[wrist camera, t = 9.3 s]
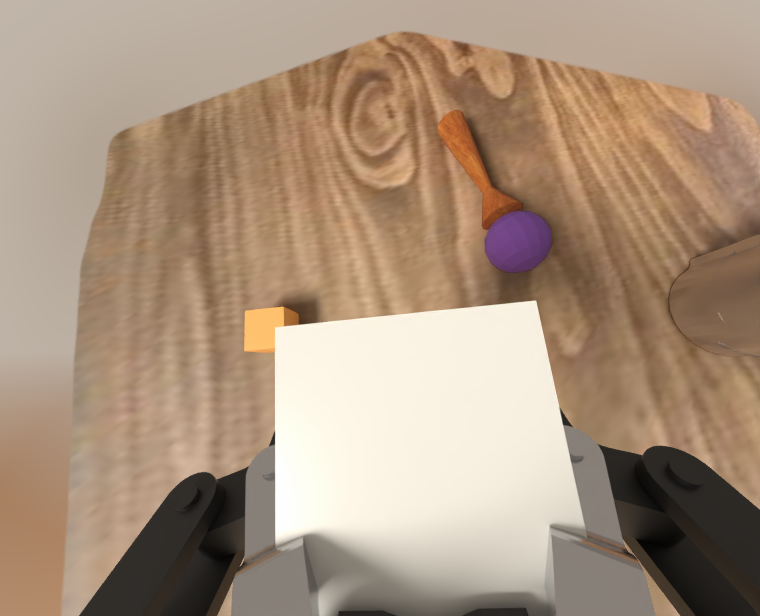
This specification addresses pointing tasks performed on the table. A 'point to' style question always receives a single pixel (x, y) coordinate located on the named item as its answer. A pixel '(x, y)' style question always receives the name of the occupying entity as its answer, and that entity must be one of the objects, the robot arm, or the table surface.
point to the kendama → (498, 206)
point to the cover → (422, 459)
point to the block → (266, 327)
